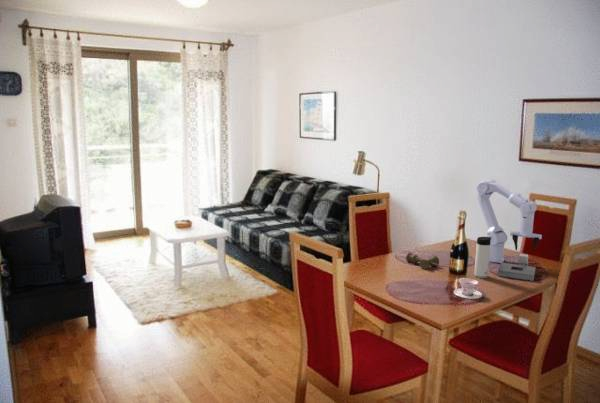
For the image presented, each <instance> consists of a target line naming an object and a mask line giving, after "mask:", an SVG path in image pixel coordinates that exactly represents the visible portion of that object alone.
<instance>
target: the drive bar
mask: <svg viewBox="0 0 600 403" xmlns="http://www.w3.org/2000/svg"><path fill="white" fill-rule="evenodd" d="M528 261H529V255H528V254H526V253H525V254H524V253H519V256H518V265H523V266H528Z"/></svg>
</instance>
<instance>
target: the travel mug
mask: <svg viewBox="0 0 600 403" xmlns="http://www.w3.org/2000/svg"><path fill="white" fill-rule="evenodd" d="M491 239H492V238H491V237H488V236H479V237H477V239H476V247H475V248H476V250H475V260H474V261H475V262H474V270H473V271H474V273H473V274H474V277H475V278H477V279H487V278H488V277H489V276H488V275H489V265H490V261H489V255H490V242H491Z"/></svg>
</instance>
